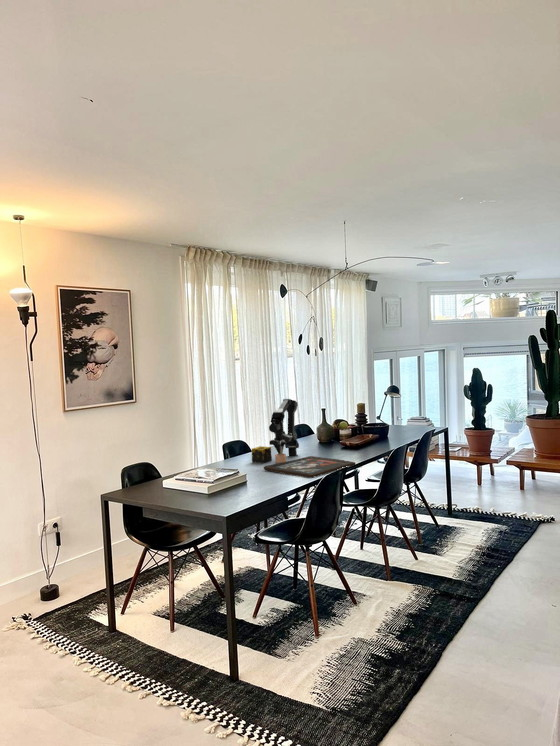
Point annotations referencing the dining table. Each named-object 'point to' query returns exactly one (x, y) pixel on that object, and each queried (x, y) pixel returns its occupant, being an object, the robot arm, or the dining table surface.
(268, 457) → the candle
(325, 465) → the religious icon
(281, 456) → the terracotta cup
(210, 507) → the dining table surface
